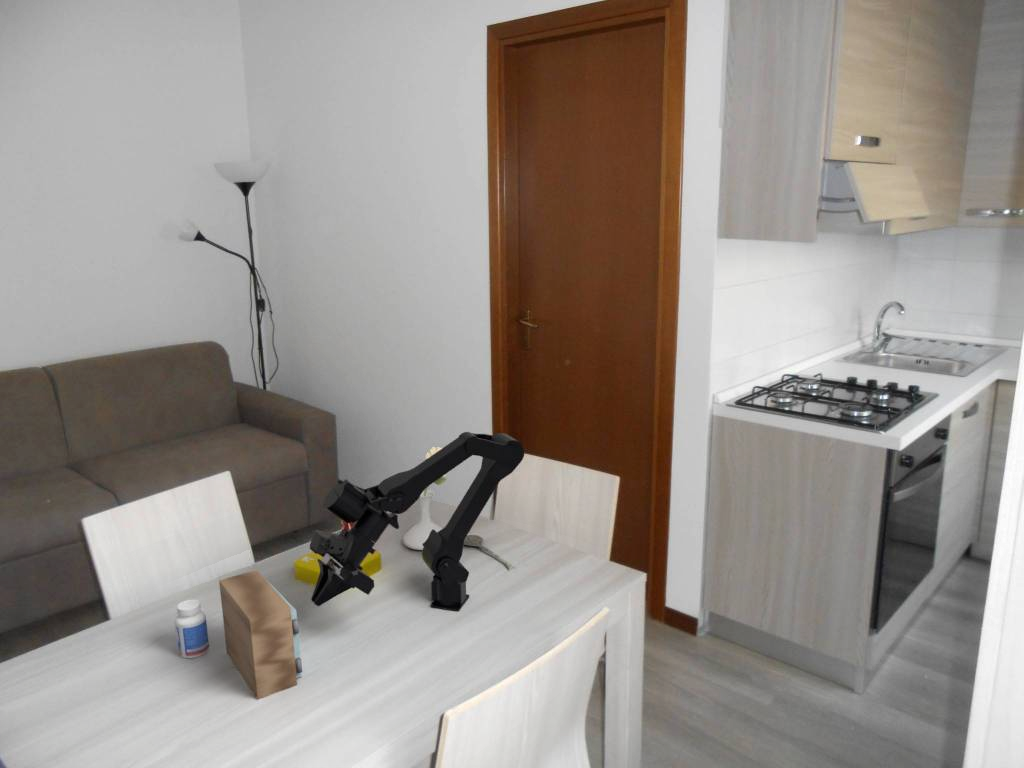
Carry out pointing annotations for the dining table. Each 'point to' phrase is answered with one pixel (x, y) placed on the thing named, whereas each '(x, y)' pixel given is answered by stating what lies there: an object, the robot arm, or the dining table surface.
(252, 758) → the dining table surface
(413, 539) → the flower in vase
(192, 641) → the pill bottle
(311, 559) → the element tile
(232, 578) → the cabinet
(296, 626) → the door
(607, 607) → the dining table surface
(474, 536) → the soupspoon
